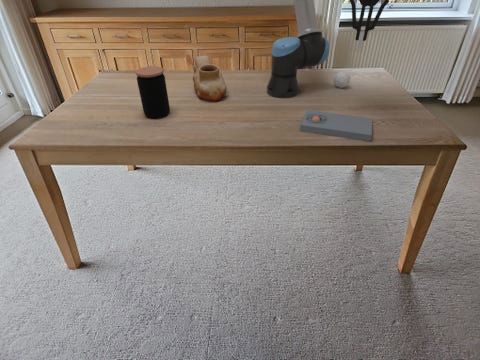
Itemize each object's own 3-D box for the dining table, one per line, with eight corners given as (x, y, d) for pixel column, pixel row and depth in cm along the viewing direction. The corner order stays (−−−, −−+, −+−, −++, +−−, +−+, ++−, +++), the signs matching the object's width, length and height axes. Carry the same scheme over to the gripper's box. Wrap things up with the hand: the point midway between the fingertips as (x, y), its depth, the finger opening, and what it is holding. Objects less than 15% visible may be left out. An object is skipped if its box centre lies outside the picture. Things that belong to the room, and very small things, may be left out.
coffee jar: (175, 110, 131) (168, 67, 120) (162, 121, 123) (154, 76, 112) (153, 107, 134) (145, 65, 123) (139, 117, 126) (129, 73, 115)
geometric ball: (335, 92, 152) (327, 79, 150) (344, 83, 155) (337, 69, 152) (346, 89, 145) (338, 75, 143) (356, 79, 148) (348, 65, 145)
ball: (321, 122, 116) (313, 127, 117) (321, 121, 119) (313, 126, 121) (317, 115, 116) (309, 119, 117) (317, 114, 119) (309, 118, 120)
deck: (299, 130, 115) (300, 124, 114) (306, 115, 126) (306, 109, 124) (369, 141, 108) (371, 135, 107) (370, 124, 119) (372, 118, 117)
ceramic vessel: (215, 81, 159) (214, 51, 150) (231, 100, 139) (230, 66, 130) (189, 85, 155) (186, 54, 146) (201, 104, 136) (198, 70, 126)
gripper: (353, -26, 99) (339, 51, 113) (396, -25, 96) (377, 53, 110) (354, -28, 105) (341, 46, 119) (395, -27, 101) (377, 48, 115)
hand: (358, 49), depth 114 cm, fingers closed
